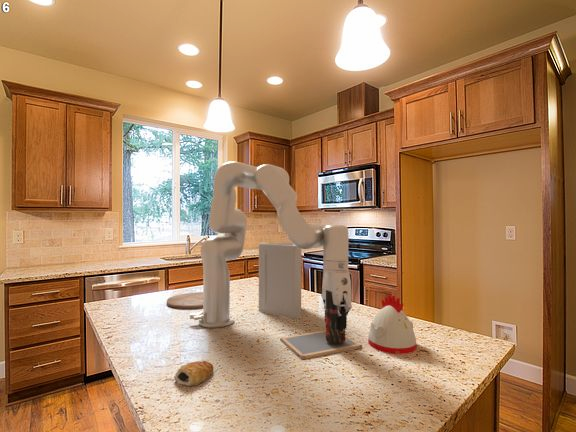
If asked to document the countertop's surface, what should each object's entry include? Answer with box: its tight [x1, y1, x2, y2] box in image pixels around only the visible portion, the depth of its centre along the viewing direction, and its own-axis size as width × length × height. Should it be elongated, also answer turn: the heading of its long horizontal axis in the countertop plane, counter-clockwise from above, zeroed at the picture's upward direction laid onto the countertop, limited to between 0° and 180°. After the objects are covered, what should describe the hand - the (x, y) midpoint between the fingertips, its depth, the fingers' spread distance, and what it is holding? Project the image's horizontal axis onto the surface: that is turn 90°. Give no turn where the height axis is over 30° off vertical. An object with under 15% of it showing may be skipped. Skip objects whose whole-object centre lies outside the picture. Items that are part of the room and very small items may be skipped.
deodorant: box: [325, 290, 346, 344], centre depth 97 cm, size 6×6×15 cm
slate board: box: [280, 330, 363, 360], centre depth 98 cm, size 20×15×1 cm
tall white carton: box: [258, 242, 302, 320], centre depth 134 cm, size 19×15×28 cm
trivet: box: [166, 291, 203, 310], centre depth 148 cm, size 25×25×2 cm
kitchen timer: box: [368, 294, 417, 355], centre depth 98 cm, size 14×14×15 cm
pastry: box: [173, 360, 214, 387], centre depth 77 cm, size 9×7×4 cm
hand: (335, 324), depth 97 cm, fingers closed on deodorant, 5 cm apart
